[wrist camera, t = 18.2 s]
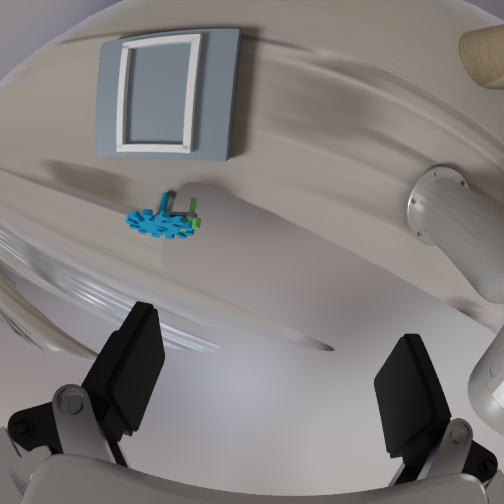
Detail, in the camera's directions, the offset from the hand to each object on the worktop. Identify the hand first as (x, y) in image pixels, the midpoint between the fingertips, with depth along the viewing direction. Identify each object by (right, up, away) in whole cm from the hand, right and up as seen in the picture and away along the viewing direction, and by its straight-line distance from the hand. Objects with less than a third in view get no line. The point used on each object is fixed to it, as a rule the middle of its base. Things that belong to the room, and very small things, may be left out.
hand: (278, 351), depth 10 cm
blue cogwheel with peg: (-13, +8, +33) cm, 36 cm away
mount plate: (-13, +25, +22) cm, 36 cm away
